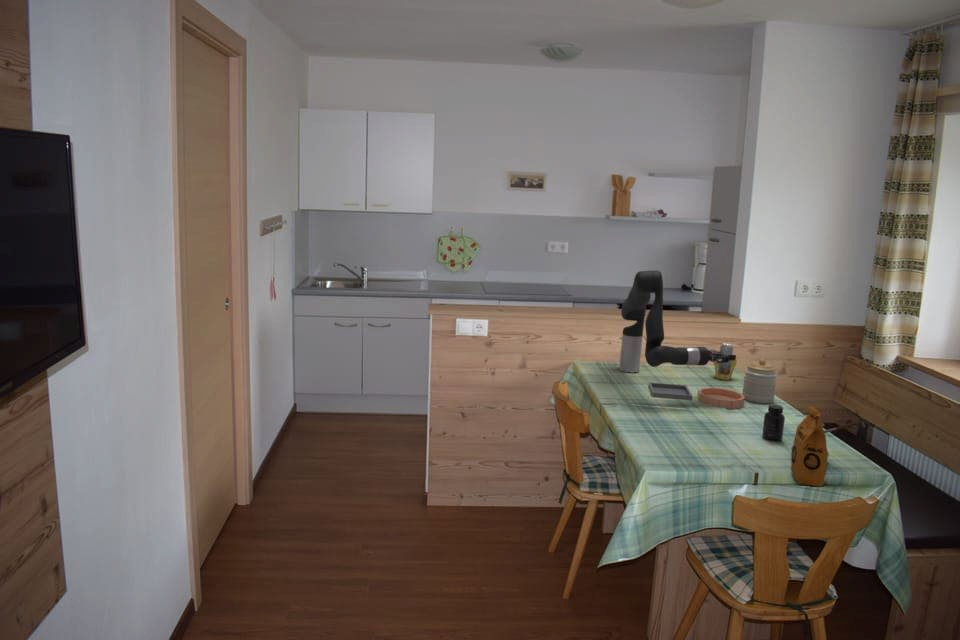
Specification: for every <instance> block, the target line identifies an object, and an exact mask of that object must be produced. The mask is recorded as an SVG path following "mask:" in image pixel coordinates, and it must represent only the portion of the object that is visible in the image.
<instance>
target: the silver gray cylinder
mask: <svg viewBox="0 0 960 640" xmlns="http://www.w3.org/2000/svg"><path fill="white" fill-rule="evenodd" d="M719 352H720V353H722V354H723V355H734V346H732V343H726V342H722V344H721V345H720V347H719ZM719 356H720V355H719ZM731 362H732V361H729V362H728V363H718V370H717V373H719V374H724V375H729V374H730V370H731Z"/></svg>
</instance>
